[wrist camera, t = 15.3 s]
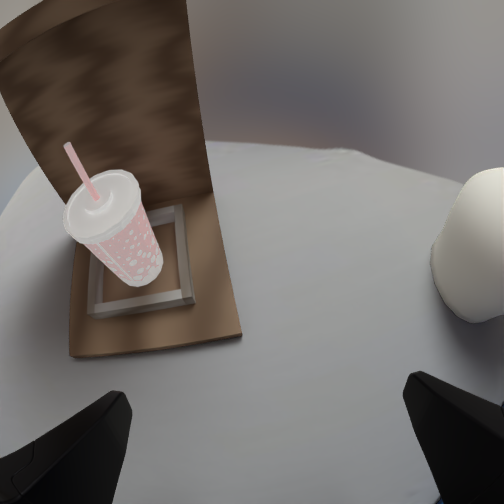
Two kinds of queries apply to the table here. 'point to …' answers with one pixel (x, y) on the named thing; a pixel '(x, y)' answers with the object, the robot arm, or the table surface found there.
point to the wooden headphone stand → (125, 161)
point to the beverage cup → (113, 223)
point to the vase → (473, 250)
